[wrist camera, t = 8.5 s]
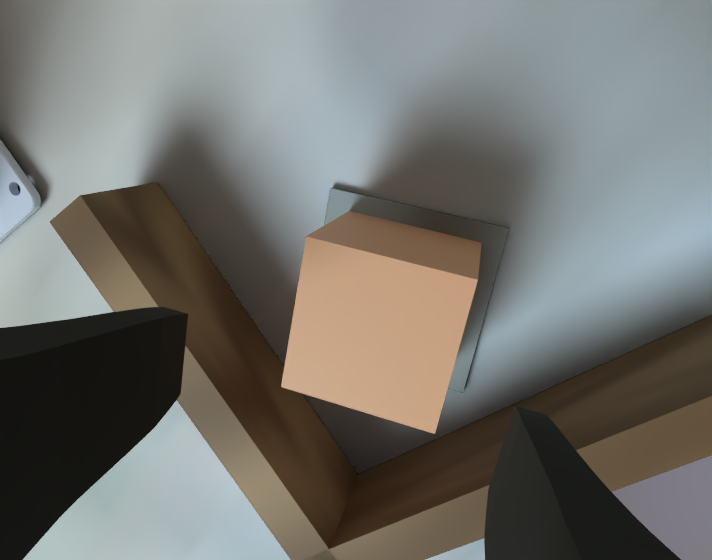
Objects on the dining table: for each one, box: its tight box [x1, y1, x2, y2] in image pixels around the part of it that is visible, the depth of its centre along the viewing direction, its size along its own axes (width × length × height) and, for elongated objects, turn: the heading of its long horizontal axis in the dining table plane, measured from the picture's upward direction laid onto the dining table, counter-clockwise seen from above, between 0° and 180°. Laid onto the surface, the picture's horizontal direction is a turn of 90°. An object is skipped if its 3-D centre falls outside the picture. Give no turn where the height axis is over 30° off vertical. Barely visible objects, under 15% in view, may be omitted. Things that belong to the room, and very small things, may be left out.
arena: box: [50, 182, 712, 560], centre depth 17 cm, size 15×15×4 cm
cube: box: [281, 211, 482, 434], centre depth 16 cm, size 4×4×4 cm
